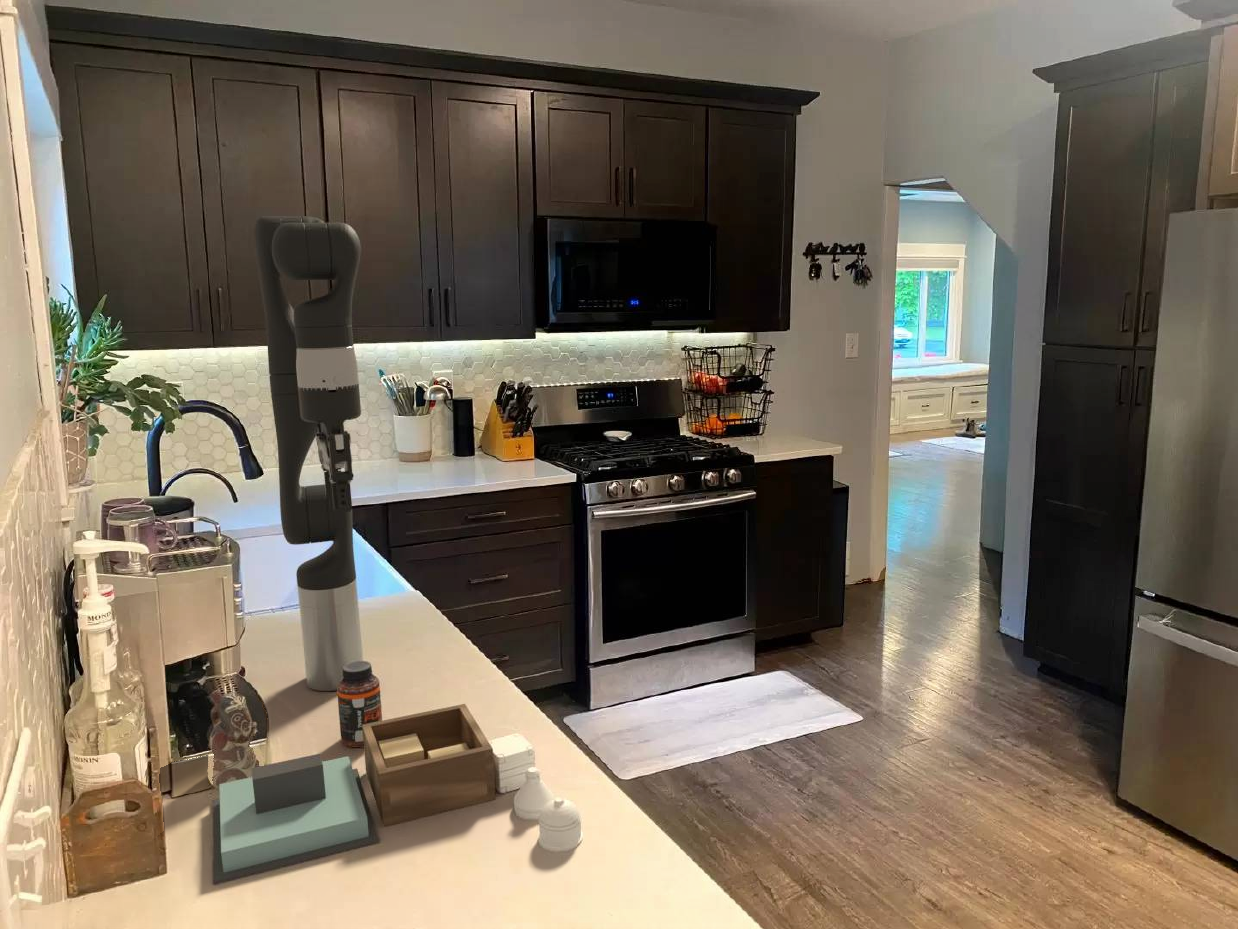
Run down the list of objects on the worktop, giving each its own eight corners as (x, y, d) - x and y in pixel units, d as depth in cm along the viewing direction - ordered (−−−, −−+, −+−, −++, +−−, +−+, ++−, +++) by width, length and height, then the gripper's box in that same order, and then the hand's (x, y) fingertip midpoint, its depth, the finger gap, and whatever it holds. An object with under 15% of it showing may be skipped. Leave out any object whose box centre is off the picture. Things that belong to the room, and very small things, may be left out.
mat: (212, 803, 118) (212, 800, 118) (357, 771, 125) (357, 768, 125) (213, 884, 102) (213, 881, 102) (379, 842, 109) (379, 839, 109)
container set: (485, 780, 123) (483, 741, 122) (521, 769, 125) (520, 731, 124) (550, 858, 106) (548, 815, 105) (590, 844, 108) (589, 801, 107)
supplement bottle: (372, 750, 131) (366, 675, 129) (333, 747, 132) (326, 673, 130) (390, 730, 137) (385, 658, 134) (353, 728, 138) (347, 656, 136)
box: (366, 772, 125) (361, 724, 124) (467, 750, 130) (464, 703, 129) (383, 827, 112) (379, 774, 111) (495, 799, 118) (492, 748, 116)
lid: (221, 802, 118) (215, 751, 116) (350, 773, 124) (345, 725, 123) (223, 873, 104) (216, 816, 102) (368, 836, 110) (364, 782, 108)
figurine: (231, 795, 120) (220, 709, 118) (196, 781, 124) (186, 698, 121) (276, 770, 126) (267, 688, 124) (242, 757, 130) (233, 677, 127)
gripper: (293, 379, 124) (304, 497, 127) (302, 389, 111) (314, 520, 114) (350, 375, 127) (360, 491, 130) (366, 385, 114) (376, 513, 117)
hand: (338, 504), depth 122 cm, fingers open, 8 cm apart
